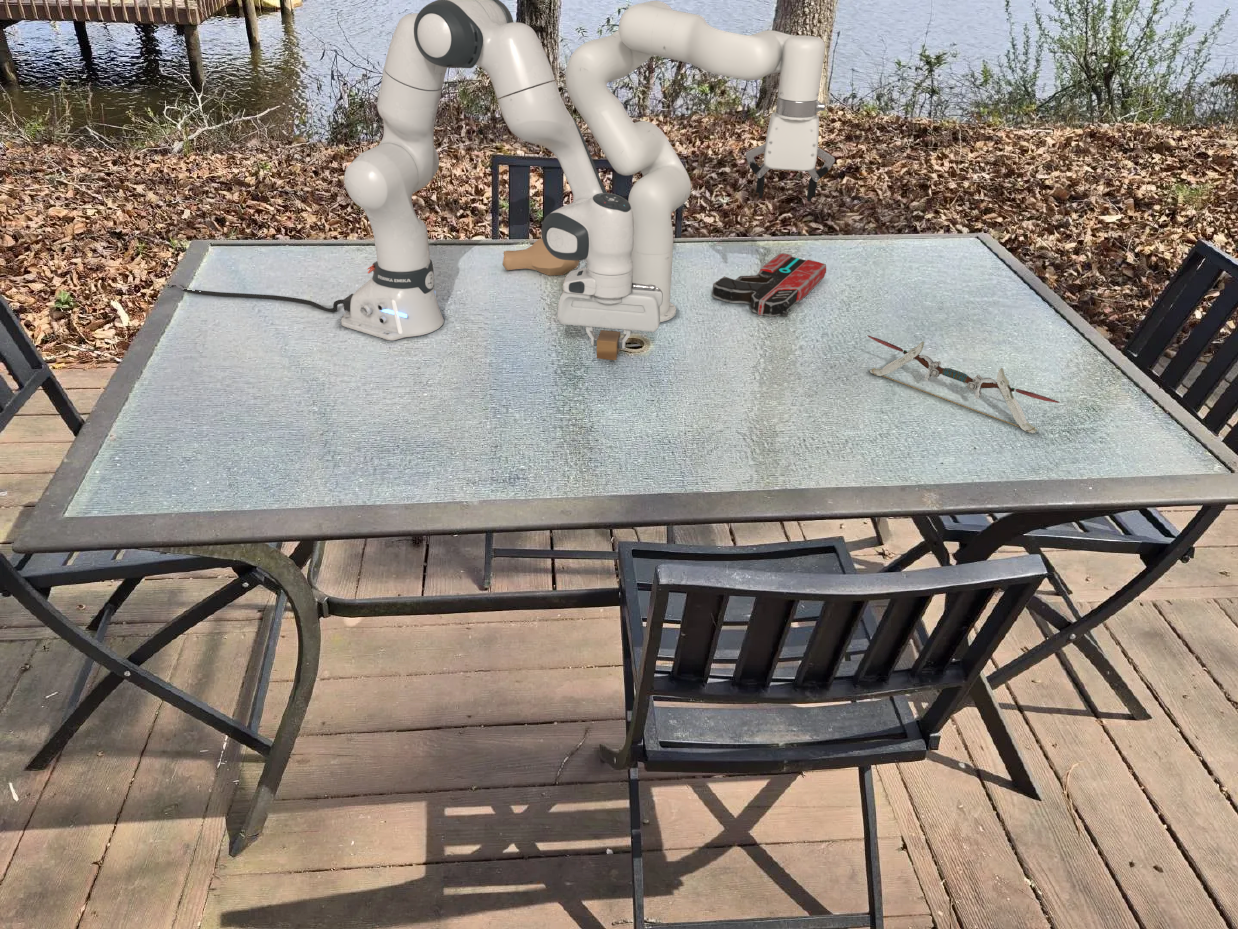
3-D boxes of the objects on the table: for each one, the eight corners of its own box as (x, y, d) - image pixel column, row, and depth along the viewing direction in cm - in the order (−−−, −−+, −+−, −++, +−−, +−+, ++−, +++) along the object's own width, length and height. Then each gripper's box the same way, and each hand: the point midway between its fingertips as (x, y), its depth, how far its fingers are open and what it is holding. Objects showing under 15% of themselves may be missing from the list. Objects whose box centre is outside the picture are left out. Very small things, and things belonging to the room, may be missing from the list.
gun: (708, 284, 207) (784, 305, 199) (760, 245, 229) (831, 262, 221) (706, 302, 209) (781, 323, 201) (758, 261, 231) (828, 278, 223)
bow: (1049, 436, 162) (1066, 388, 156) (1045, 439, 161) (1062, 391, 155) (863, 366, 183) (872, 322, 178) (859, 369, 182) (867, 325, 176)
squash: (582, 279, 220) (577, 247, 214) (504, 286, 221) (496, 255, 215) (583, 257, 228) (579, 225, 221) (508, 264, 229) (501, 233, 223)
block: (616, 360, 175) (616, 342, 173) (596, 358, 175) (596, 340, 173) (619, 349, 179) (620, 331, 177) (600, 347, 180) (600, 329, 177)
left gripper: (665, 279, 170) (661, 344, 178) (561, 271, 172) (562, 335, 180) (661, 292, 165) (657, 358, 173) (555, 283, 167) (556, 348, 175)
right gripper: (841, 106, 169) (827, 195, 178) (751, 101, 171) (742, 189, 180) (843, 114, 163) (829, 206, 172) (750, 109, 165) (741, 200, 174)
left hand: (608, 346), depth 176 cm, fingers closed on block, 4 cm apart
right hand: (784, 197), depth 176 cm, fingers open, 9 cm apart
